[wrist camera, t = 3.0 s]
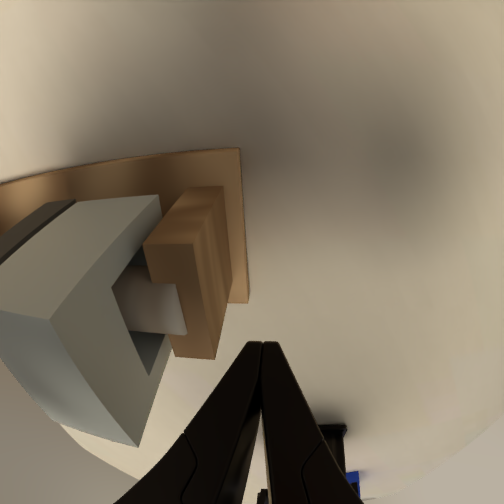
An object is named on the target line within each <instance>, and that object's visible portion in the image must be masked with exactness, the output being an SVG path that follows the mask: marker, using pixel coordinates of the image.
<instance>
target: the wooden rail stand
mask: <svg viewBox="0 0 504 504" xmlns="http://www.w3.org/2000/svg"><path fill="white" fill-rule="evenodd" d="M145 195H159V201H160V206H161V212H162V217H163V218H162V220H161V221H160V222H159V223H158V225H157V226H156V227H155V228H154V230H153V231H152V232H151V234H150V235H149V236H148V237H147V239H146V240H145V241H144V243H143V244H142V246H143V250H144V254H145V258H146V262H147V266H143V265H127V266H126V267H125V269H124V270H123V271H122V273H121V274H120V275H119V277H118V278H117V280H116V281H115V282H114V284H113V285H112V287H111V289H112V291H113V294H114V297H115V299H116V302H117V305H118V307H119V310H120V312H121V315H122V317H123V320H124V322H125V325H126V327H127V330H130V331H140V332H150V333H161V334H168V337H169V340H170V343H171V346H172V349H173V351H174V354H175V357H185V358H197V359H211V360H215V357H216V353H217V348H218V344H219V339H220V335H221V330H222V326H223V321H224V317H225V312H226V308H227V303H248V301H249V281H248V267H247V253H246V239H245V225H244V210H243V195H242V181H241V166H240V151H239V148H225V149H210V150H196V151H185V152H174V153H165V154H156V155H147V156H139V157H132V158H125V159H118V160H111V161H105V162H99V163H93V164H88V165H82V166H77V167H72V168H67V169H62V170H57V171H52V172H48V173H43V174H39V175H35V176H30V177H26V178H22V179H18V180H14V181H11V182H7V183H3V184H0V236H2V235H3V234H4V233H5V232H7V231H8V230H9V229H11V228H12V227H13V226H15V225H16V224H17V223H18V222H20V221H21V220H23V219H24V218H25V217H27V216H28V215H29V214H31V213H32V212H34V211H35V210H36V209H38V208H39V207H41V206H42V205H44V204H45V203H47V202H53V201H61V200H68V199H76V203H77V202H81V201H90V200H100V199H110V198H121V197H132V196H145Z"/></svg>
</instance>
